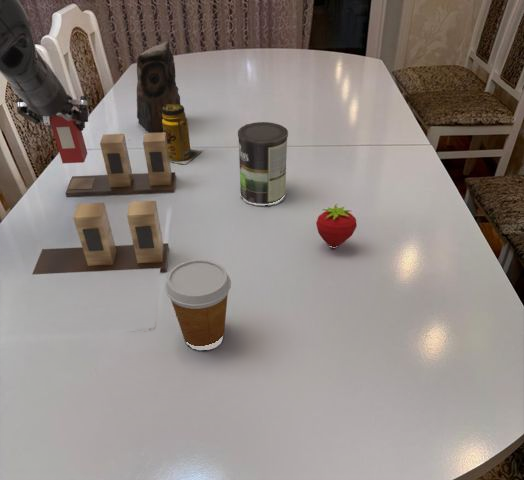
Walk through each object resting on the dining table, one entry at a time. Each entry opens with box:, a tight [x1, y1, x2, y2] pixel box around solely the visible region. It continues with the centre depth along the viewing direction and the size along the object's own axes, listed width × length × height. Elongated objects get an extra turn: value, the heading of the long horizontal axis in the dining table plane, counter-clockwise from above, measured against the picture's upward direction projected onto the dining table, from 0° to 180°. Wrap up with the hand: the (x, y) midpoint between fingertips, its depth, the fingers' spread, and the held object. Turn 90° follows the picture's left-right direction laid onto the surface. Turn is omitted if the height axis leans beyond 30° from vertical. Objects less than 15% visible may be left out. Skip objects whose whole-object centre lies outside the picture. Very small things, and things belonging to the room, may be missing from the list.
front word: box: [31, 200, 170, 275], centre depth 90 cm, size 24×8×11 cm, turn 94°
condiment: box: [162, 103, 203, 165], centre depth 121 cm, size 7×8×12 cm
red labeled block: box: [50, 116, 88, 164], centre depth 106 cm, size 5×5×10 cm
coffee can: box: [237, 121, 289, 207], centre depth 106 cm, size 10×10×14 cm
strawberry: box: [315, 203, 358, 247], centre depth 93 cm, size 6×8×10 cm
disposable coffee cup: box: [164, 259, 232, 346], centre depth 75 cm, size 10×10×12 cm
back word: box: [65, 132, 177, 198], centre depth 111 cm, size 24×8×11 cm, turn 94°
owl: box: [136, 40, 182, 133], centre depth 131 cm, size 13×13×20 cm
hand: (68, 126), depth 106 cm, fingers closed on red labeled block, 4 cm apart
